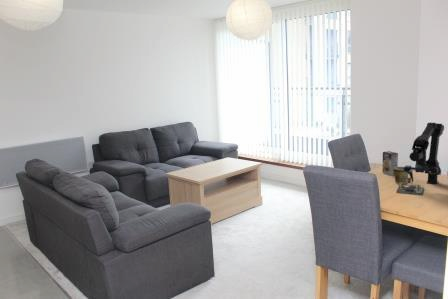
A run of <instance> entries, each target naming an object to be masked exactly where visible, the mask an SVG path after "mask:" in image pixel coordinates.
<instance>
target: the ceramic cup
mask: <svg viewBox="0 0 448 299" xmlns="http://www.w3.org/2000/svg"><path fill="white" fill-rule="evenodd" d="M404 167H405V166H398V167H394V168H393V171H394V175H393V176H394V182H395V183H396V184H399V185H400V183H403V185H406V184H407V178H409V173H407V172H405V171H404Z"/></svg>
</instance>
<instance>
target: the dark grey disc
mask: <svg viewBox="0 0 448 299" xmlns="http://www.w3.org/2000/svg"><path fill="white" fill-rule="evenodd" d="M403 186H404V188H407V189H415V188H416V187H417V185H415V184H413V183H412V180H411V177H408V178H407V183H406V184H403Z"/></svg>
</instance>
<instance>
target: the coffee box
mask: <svg viewBox="0 0 448 299" xmlns="http://www.w3.org/2000/svg"><path fill="white" fill-rule="evenodd" d="M398 159H399V153H398V152H394V151H389V150H387V151H382V174H385V175H388V176H394V171H393V168H394V167H399V166H398V164H399V160H398Z"/></svg>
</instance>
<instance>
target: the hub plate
mask: <svg viewBox="0 0 448 299" xmlns="http://www.w3.org/2000/svg"><path fill="white" fill-rule="evenodd" d="M395 192H396V193H398V194H405V195H407V194H409V195H419V196H421V195H422V194H423V192H424V187H423V186H422V184H420V183H418V184H417V185H416V188H415V189H407V188H404V184H403V183H400V184H399V186H398V187H397V189H396V191H395Z"/></svg>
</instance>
